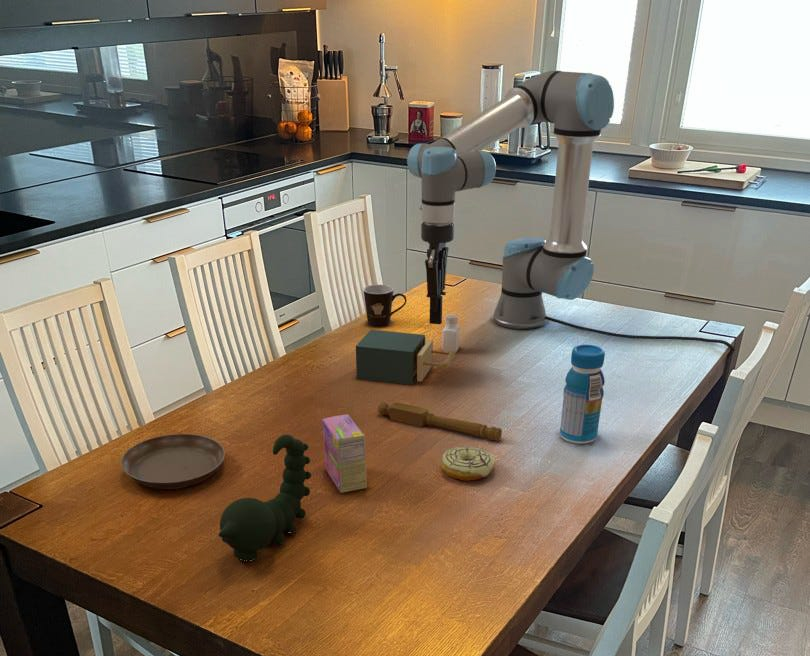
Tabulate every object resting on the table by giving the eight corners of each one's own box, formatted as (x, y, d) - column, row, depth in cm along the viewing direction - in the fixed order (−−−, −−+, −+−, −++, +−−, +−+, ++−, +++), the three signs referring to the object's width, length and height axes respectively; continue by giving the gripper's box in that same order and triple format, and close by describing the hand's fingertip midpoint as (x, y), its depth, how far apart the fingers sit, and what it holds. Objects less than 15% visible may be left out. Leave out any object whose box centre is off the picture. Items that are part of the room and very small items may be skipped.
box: (324, 470, 176) (321, 417, 169) (351, 465, 178) (349, 413, 171) (339, 494, 168) (337, 440, 161) (367, 489, 169) (365, 435, 163)
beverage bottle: (557, 442, 186) (566, 355, 175) (560, 426, 192) (569, 340, 181) (596, 447, 184) (608, 359, 173) (598, 429, 191) (610, 344, 180)
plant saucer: (246, 461, 179) (245, 447, 177) (178, 506, 164) (175, 491, 162) (173, 438, 188) (171, 425, 186) (101, 479, 173) (98, 464, 171)
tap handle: (497, 431, 184) (375, 404, 195) (496, 444, 185) (375, 416, 197) (502, 425, 186) (381, 399, 197) (501, 438, 188) (382, 411, 199)
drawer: (456, 367, 218) (457, 342, 215) (446, 384, 210) (446, 358, 206) (382, 359, 223) (382, 334, 219) (369, 375, 214) (369, 349, 210)
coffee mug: (358, 325, 247) (357, 291, 241) (373, 316, 253) (372, 282, 248) (394, 332, 242) (393, 297, 237) (408, 322, 249) (408, 288, 243)
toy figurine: (282, 512, 165) (200, 571, 145) (278, 420, 156) (190, 469, 136) (323, 524, 162) (245, 585, 142) (322, 431, 152) (239, 482, 133)
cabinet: (425, 366, 221) (425, 334, 216) (412, 385, 212) (412, 351, 207) (371, 360, 225) (370, 329, 220) (356, 378, 215) (355, 345, 210)
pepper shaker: (459, 348, 232) (460, 314, 227) (456, 353, 229) (457, 319, 223) (445, 346, 233) (445, 312, 228) (441, 352, 230) (442, 317, 224)
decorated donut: (495, 484, 171) (496, 468, 169) (441, 483, 171) (442, 467, 169) (492, 459, 179) (493, 443, 177) (441, 458, 180) (441, 442, 178)
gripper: (429, 214, 201) (427, 312, 214) (414, 227, 190) (413, 330, 203) (460, 216, 199) (456, 315, 212) (446, 230, 188) (444, 333, 201)
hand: (435, 322), depth 208 cm, fingers closed
